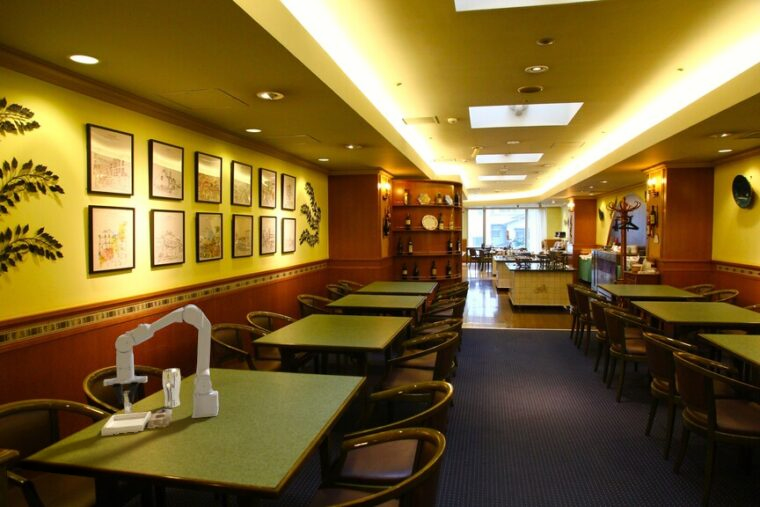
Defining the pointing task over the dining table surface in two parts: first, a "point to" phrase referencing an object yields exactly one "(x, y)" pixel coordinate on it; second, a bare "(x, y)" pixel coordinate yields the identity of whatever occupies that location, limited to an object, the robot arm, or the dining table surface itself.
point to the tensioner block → (160, 418)
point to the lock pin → (127, 402)
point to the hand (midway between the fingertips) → (126, 402)
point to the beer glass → (171, 387)
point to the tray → (126, 423)
